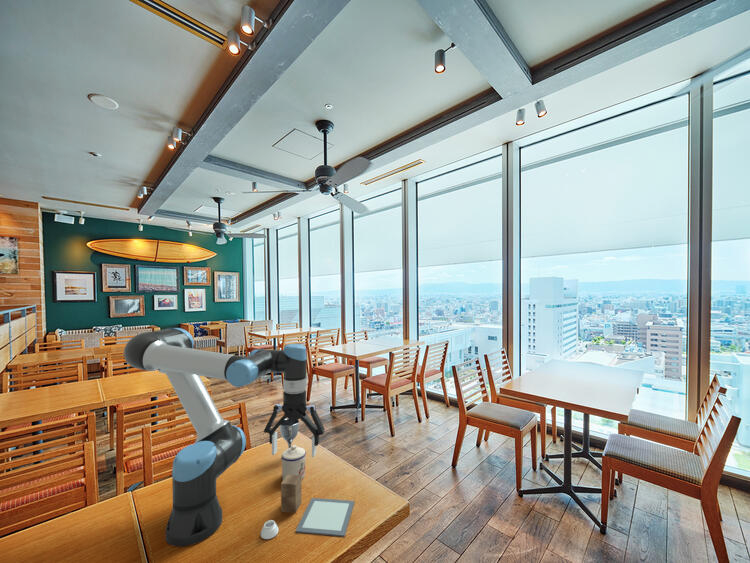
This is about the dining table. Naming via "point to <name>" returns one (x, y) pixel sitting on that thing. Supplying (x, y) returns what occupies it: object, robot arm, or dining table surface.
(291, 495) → the block
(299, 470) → the teacup with lid
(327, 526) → the coaster
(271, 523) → the lidless jar
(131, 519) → the dining table surface
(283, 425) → the silver goblet
